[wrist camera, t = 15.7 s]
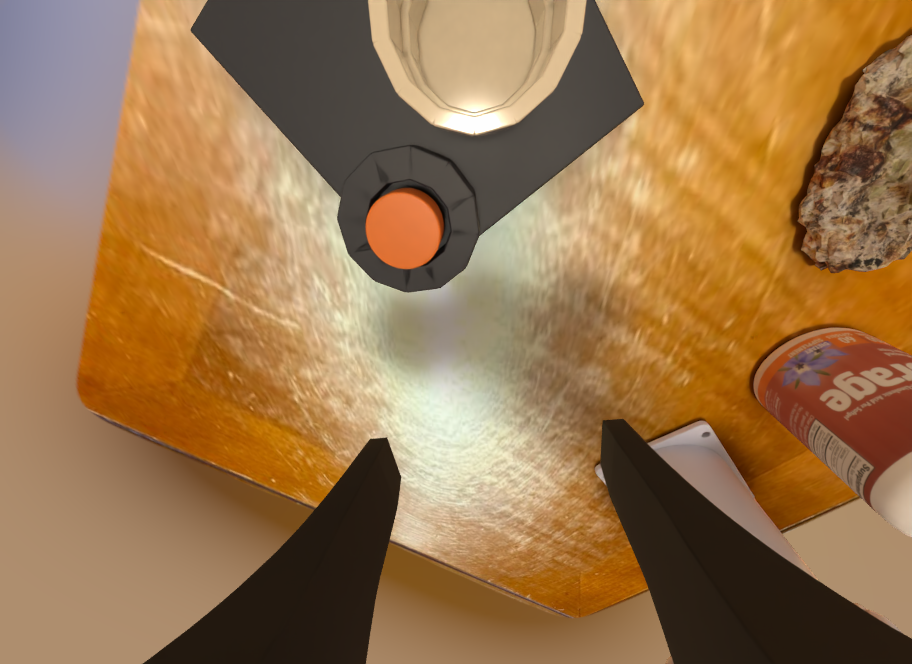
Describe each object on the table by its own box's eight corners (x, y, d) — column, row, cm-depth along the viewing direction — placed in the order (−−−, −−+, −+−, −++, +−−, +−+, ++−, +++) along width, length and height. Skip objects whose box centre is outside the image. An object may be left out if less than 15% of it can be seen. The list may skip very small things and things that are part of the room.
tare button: (458, 230, 15) (456, 239, 13) (408, 271, 16) (401, 283, 14) (411, 170, 14) (403, 173, 12) (361, 219, 15) (349, 226, 13)
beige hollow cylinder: (583, 60, 13) (631, 21, 9) (463, 168, 15) (458, 176, 11) (493, -111, 11) (502, -262, 7) (369, 39, 13) (321, -8, 9)
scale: (636, 117, 14) (671, 111, 12) (415, 291, 19) (405, 314, 16) (428, -302, 10) (410, -464, 7) (201, 58, 14) (140, 39, 12)
